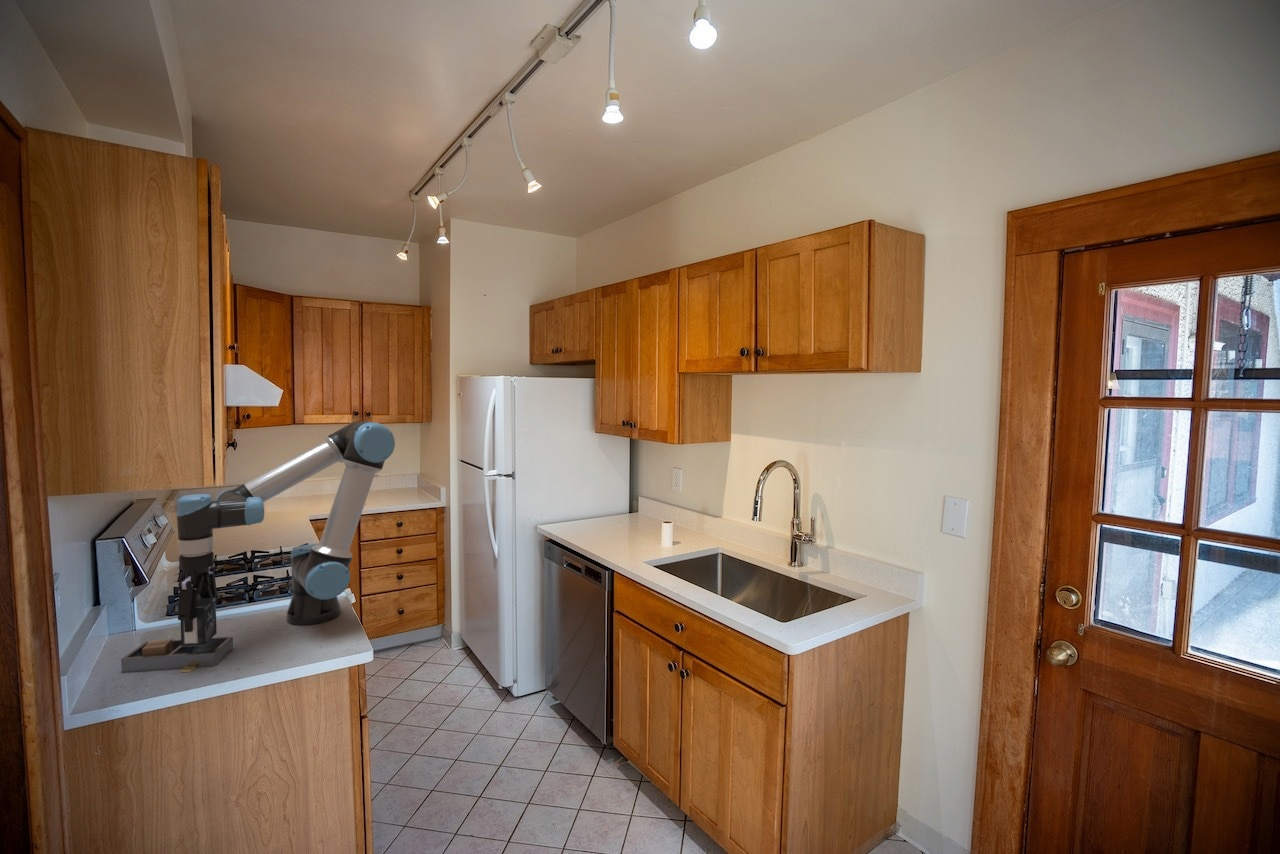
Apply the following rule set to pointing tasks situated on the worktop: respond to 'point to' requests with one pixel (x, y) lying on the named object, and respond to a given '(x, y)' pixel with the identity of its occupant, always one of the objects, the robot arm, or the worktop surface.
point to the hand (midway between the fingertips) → (199, 635)
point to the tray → (179, 656)
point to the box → (203, 622)
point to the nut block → (157, 648)
